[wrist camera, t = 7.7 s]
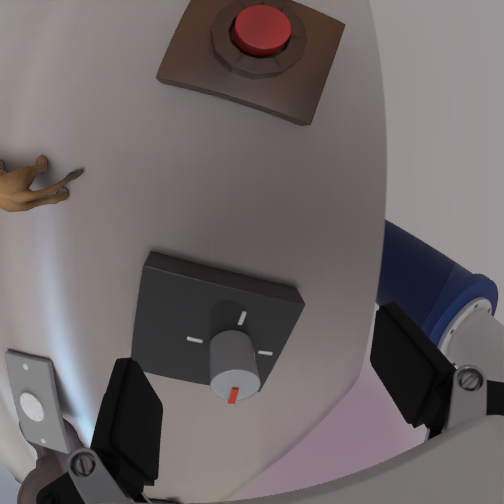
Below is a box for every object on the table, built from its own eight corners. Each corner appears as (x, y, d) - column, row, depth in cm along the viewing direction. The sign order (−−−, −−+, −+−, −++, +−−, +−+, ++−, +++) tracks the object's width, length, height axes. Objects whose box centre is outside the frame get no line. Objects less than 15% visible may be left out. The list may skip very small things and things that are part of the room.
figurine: (8, 400, 30) (-30, 503, 7) (62, 408, 31) (28, 540, 8) (59, 452, 37) (41, 542, 14) (113, 460, 38) (103, 565, 15)
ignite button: (291, 24, 15) (297, 15, 13) (275, 63, 16) (281, 56, 14) (243, 8, 14) (246, -2, 12) (225, 46, 15) (226, 38, 14)
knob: (212, 327, 24) (213, 370, 19) (256, 332, 25) (266, 374, 20) (206, 359, 25) (207, 402, 21) (247, 363, 26) (254, 404, 21)
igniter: (335, 31, 18) (355, 17, 14) (301, 126, 21) (318, 124, 18) (204, -13, 15) (203, -35, 12) (160, 82, 19) (150, 72, 15)
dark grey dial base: (296, 287, 27) (305, 305, 24) (255, 373, 31) (259, 393, 28) (150, 250, 24) (142, 266, 21) (135, 349, 28) (129, 369, 25)
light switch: (44, 363, 25) (66, 457, 24) (64, 354, 31) (80, 439, 30) (0, 352, 24) (22, 442, 23) (22, 345, 30) (39, 428, 28)
